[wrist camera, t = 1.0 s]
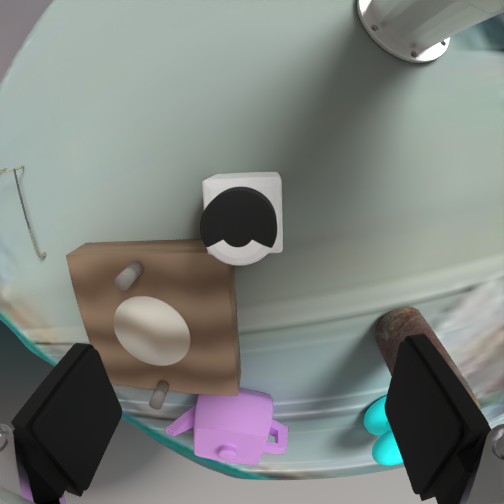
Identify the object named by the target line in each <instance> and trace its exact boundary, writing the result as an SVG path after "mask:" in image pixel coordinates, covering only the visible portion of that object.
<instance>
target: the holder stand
mask: <svg viewBox="0 0 504 504" xmlns="http://www.w3.org/2000/svg"><path fill="white" fill-rule="evenodd" d="M66 258H67V263H68V267H69V271H70V276H71V280H72V284H73V288H74V292H75V295H76V299H77V303H78V306H79V310H80V313H81V316H82V320H83V323H84V326H85V329H86V332H87V335H88V338H89V341H90V344H91V345H93V346H94V348H95V349H96V350H98V352H99V354H100V357H101V359H102V362H103V365H104V367H105V370H106V372H107V375H108V377H109V380H110V382H111V384H116V385H122V386H129V387H136V388H143V389H151V390H155V391H154V393H153V395H152V398H151V400H150V402H149V405H150V406H151V407H152V408H154V409H161V407H162V404H163V401H164V399H165V396H166V394H167V391H169V392H180V393H192V394H207V395H228V396H238V393H239V385H240V377H241V364H240V351H239V338H238V324H237V309H236V294H235V279H234V265H231V264H227V263H225V262H222V261H220V260H219V259H217V258H216V257H214V256H213V255H211V254H209V253H208V250H207V248H206V246H205V244H204V242H203V240H202V239H191V240H158V241H128V242H101V243H85V244H84V245H82V246H80V247H79V248H77V249H76V250H74V251H72V252H71V253H69V254H67V255H66Z"/></svg>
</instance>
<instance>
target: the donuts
mask: <svg viewBox="0 0 504 504" xmlns="http://www.w3.org/2000/svg"><path fill="white" fill-rule="evenodd" d="M386 397H387V396H385V397H383V398H381V399H379V400H378V401H376V402H375V403H374V404H373V405H371V406H370V408H369V409H368V410H367V412H366V414H365V416H364V426H365V428H366V430H367V431H368V432H370V433H371V434H374V435H378V436H381V437H380V438H379V439H378V440H377V441H376V442H375V444H374V446H373V449H372V456H373V459H374V460H375V461H376V462H377V463H379V464H382V465H396V464H400V463H403V460H402V457H401V454H400V451H399V449H398V446H397V443H396V441H395V438H394V435H393V433H392V430H391V427H390V425H389V422H388V419H387V417H386V414H385V409H384V406H385V401H386Z"/></svg>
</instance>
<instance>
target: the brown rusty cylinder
mask: <svg viewBox="0 0 504 504" xmlns="http://www.w3.org/2000/svg"><path fill="white" fill-rule="evenodd" d="M421 333H424V334H425V335H426V336H427V337H428V338H429V340H430V341H431V342H432V343H433V345H434V346H435V347H436V349H437V350H438V351H439V353H440V354H441V355H442V357H443V358H444V359H445V361H446V362H447V363H448V365H449V366H450V368H451V369H452V370H453V372H454V373H455V375H456V376H457V377H458V379H459V380H460V382H461V383H462V384H463V386H464V387H465V389H466V390H467V392H468V393H469V395H470V396H471V397H472V399H473V400H474V402H475V403H476V405H477V406H478V408H479V409H480V408H481V406H480V404H479V402H478V400H477V399H476V397H475V395H474V393H473V392H472V390H471V389H470V387H469V385H468V383H467V382H466V380H465V379H464V377H463V376H462V374H461V372H460V371H459V369H458V368H457V366H456V365H455V363H454V362H453V360H452V359H451V357H450V356H449V354H448V353H447V351H446V350H445V348H444V347H443V345H442V344H441V342H440V341H439V339H438V338H437V336H436V335H435V333H434V332H433V330H432V329H431V327H430V326H429V324H428V323H427V322H426V320H425V319H424V317H423V316H422V315H421V313H420V312H419V311H418V310H417V309H416V308H414V307H409V306H408V307H403V308H401V309H397V310H394V311H392V312H390V313H388V314H387V315H385V316H384V317H383V319H382V320H381V321H380V323H379V325H378V329H377V331H376V341H377V344H378V346H379V349H380V351H381V353H382V356H383V358H384V360H385V362H386V365H387V367H388V369H389V371H390V373H391V376H392V374H393V370H394V366H395V362H396V357H397V353H398V348H399V344H400V342H402V341H404V339H405V337H406V336H409V335H415V334H421Z"/></svg>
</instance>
